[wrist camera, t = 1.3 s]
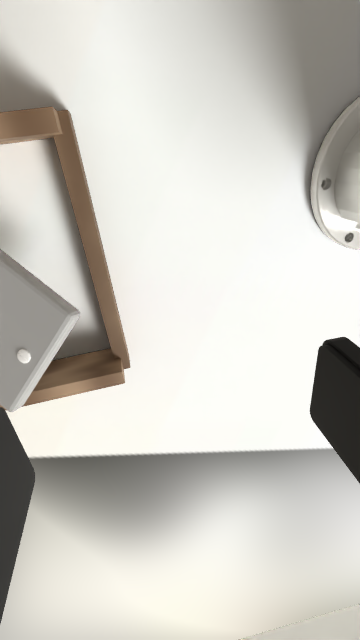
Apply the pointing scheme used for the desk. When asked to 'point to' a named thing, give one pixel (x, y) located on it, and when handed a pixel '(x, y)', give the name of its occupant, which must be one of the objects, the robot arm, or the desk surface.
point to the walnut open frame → (108, 363)
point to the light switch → (28, 330)
